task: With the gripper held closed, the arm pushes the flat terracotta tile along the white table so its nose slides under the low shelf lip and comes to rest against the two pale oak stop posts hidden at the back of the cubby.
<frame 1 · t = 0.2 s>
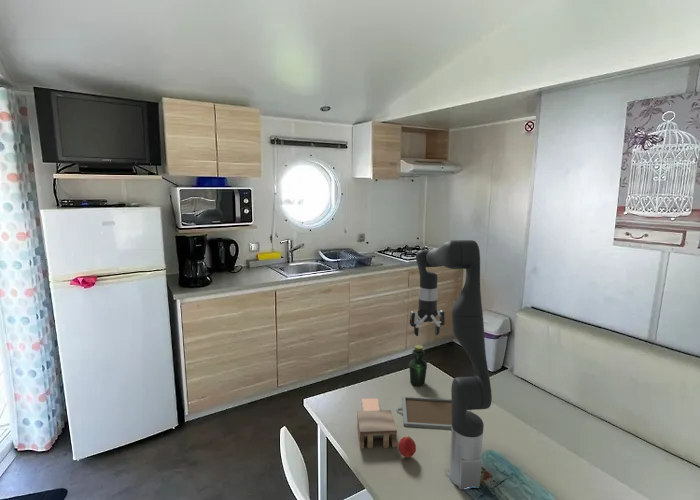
hand: (426, 335, 154), 29 cm above the table, fingers open, 8 cm apart
cubby: (375, 432, 136), on the table
tile: (371, 413, 149), on the table
potion bottle: (417, 383, 171), on the table
grey framed board: (433, 414, 149), on the table
onion: (406, 457, 124), on the table
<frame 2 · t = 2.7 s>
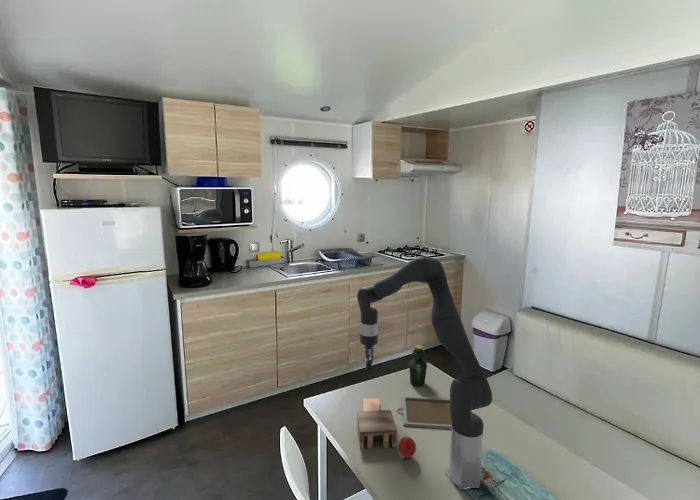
hand: (368, 370, 159), 12 cm above the table, fingers closed
nothing on the table moved.
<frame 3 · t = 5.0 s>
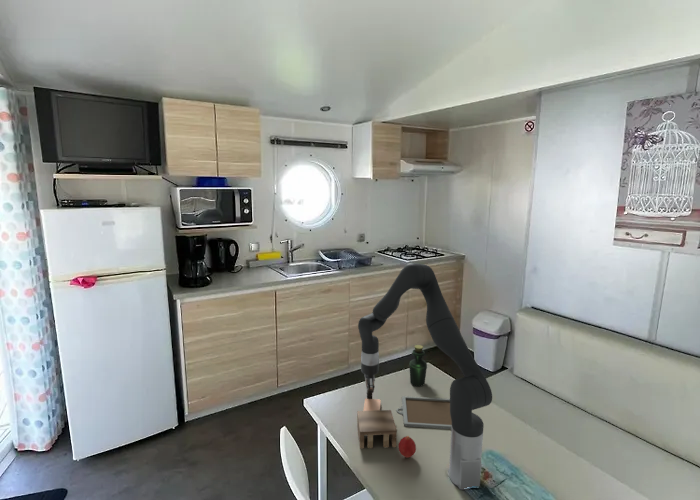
hand: (369, 398, 157), 1 cm above the table, fingers closed
tile: (371, 413, 149), on the table, touching gripper
everything else where it was.
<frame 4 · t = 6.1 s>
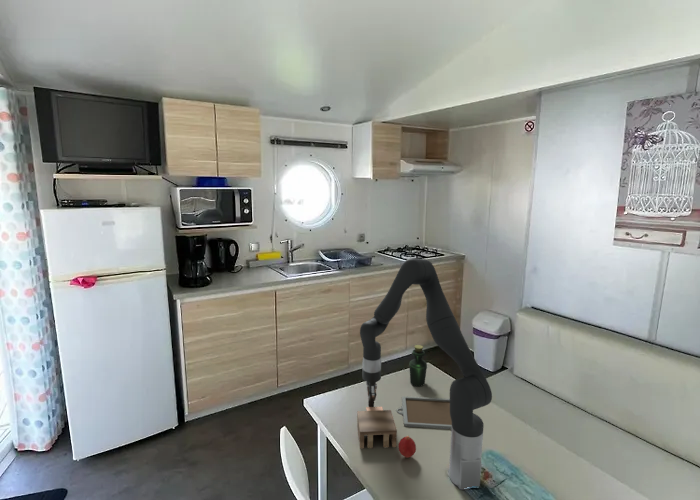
hand: (371, 406, 151), 1 cm above the table, fingers closed
tile: (376, 422, 143), on the table, touching gripper
everything else where it was.
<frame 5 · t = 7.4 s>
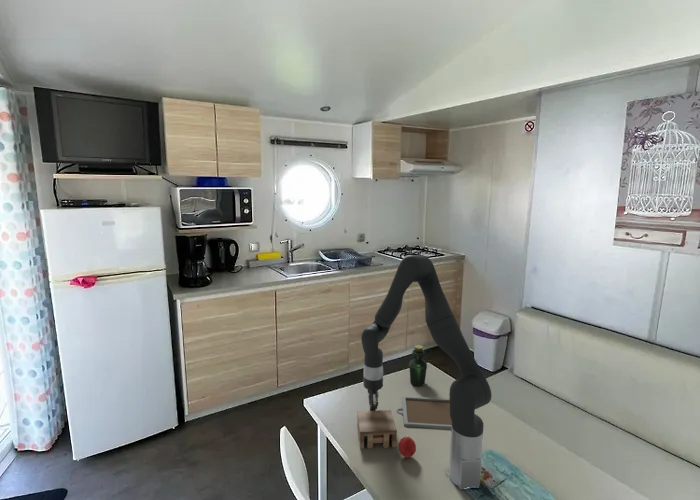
hand: (372, 415, 145), 1 cm above the table, fingers closed
tile: (377, 431, 137), on the table, touching gripper
everything else where it was.
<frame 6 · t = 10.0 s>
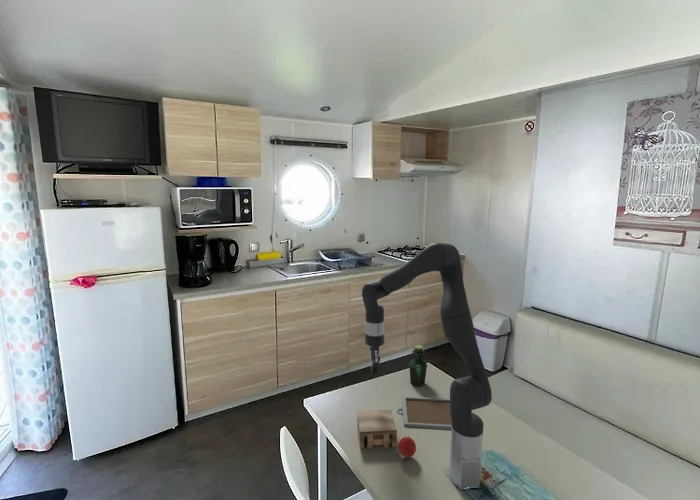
hand: (374, 373, 145), 17 cm above the table, fingers closed
tile: (378, 433, 136), on the table
everything else where it was.
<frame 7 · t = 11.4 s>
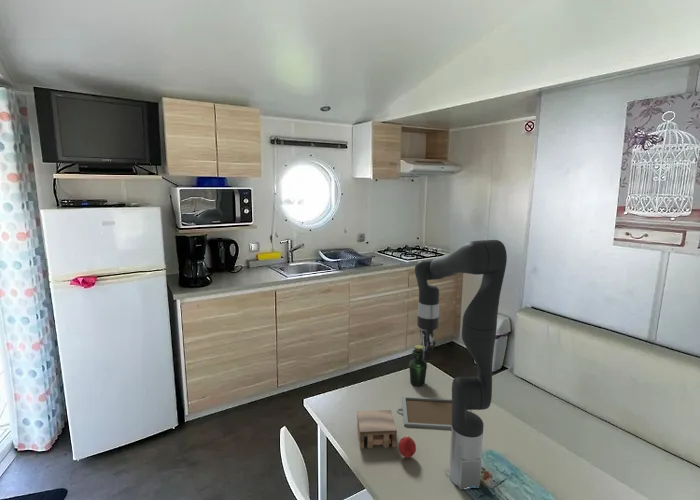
hand: (426, 359, 136), 27 cm above the table, fingers closed
nothing on the table moved.
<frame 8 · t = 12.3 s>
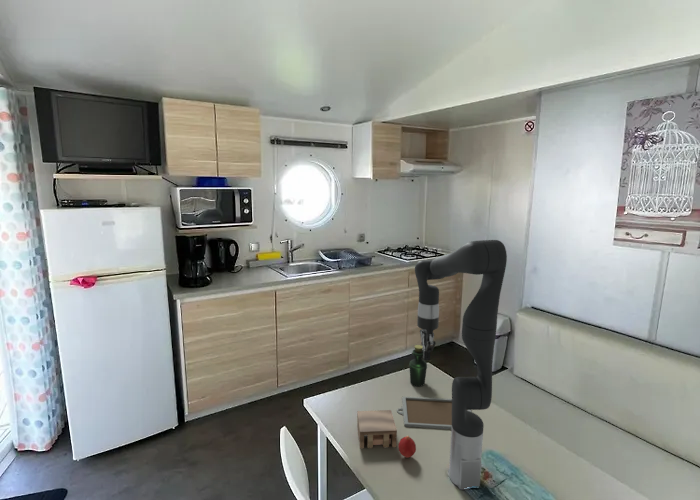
hand: (426, 359, 136), 27 cm above the table, fingers closed
nothing on the table moved.
at the end: tile 1.4 cm off-centre on the cubby, point -0.5 cm above the cubby's base; tile tilted 0° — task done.
